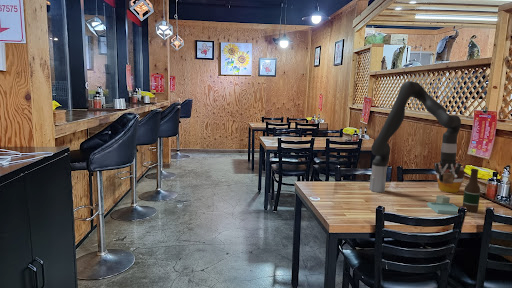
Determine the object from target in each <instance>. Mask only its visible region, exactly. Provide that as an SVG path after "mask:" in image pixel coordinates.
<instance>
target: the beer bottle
mask: <svg viewBox="0 0 512 288" xmlns="http://www.w3.org/2000/svg"><path fill="white" fill-rule="evenodd" d="M478 175H479V169H478V168H471V169H470V175H469V181H468V183H467V184H466V185H465V187H464V190H463V198H462V199H463V200H462V207H466V208H467V212H466V213H472V214H473V213H474V214H475V213H478V211H479V205H480V199H481V198H480V197H481V187H480V185H479V181H478V177H479V176H478ZM462 207H461V208H462Z"/></svg>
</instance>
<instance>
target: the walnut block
mask: <svg viewBox="0 0 512 288" xmlns="http://www.w3.org/2000/svg"><path fill="white" fill-rule="evenodd" d="M453 178H454V175H453V174H451V173H443V181H442V183H445V184H453ZM440 182H441V181H440Z"/></svg>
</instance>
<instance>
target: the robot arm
mask: <svg viewBox="0 0 512 288" xmlns="http://www.w3.org/2000/svg"><path fill="white" fill-rule="evenodd" d="M410 98H414V99H416V100H418V101H419V102H420V103H422V105H423V106H424V108H425V109H426V110H427V112H429V114H431V115H432V116H433V117H434V118H435V119H436V120H437V121H438V123H439V124H440V125H441V126H442V127H443V128H445V129H446V131H445V132H444V133H443V134H442V141H441V142H442V143H441V148H440V161H439V162H434V170H435V173H436V174H437V173H438V174H439V180H440V181H441V182H442V181H443V173H444V172H445V170H447V169H449V170H450V172H451V174H453V175H454V176H455V175H456V174H459V171H460V168H461V166H462V163H460V164H459V163H456V162H457V150H458V136H459V133H460V129H461V126H462V119H461V117H460V116H458V115H457V114H454V115H453V114H451V115H450V114H449V113H448V110H447V108H446V107H445V106H443V105H442V104H441V103H439V102H438V101H437V100H435V98H433V97H432V96H431V95H430V94H429V93H428V92H427V91H426V89H424V87H423V86H422V85H421V84H420V83H419V82H416V81H409V80H407V81H405V82H404V83H402V84H401V86H400V88H399V91H398V93H397V97H396V100H395V101H394V103H393V106H392V107H391V110H390V111H389V114H388V115H387V117H386V120H385V122H384V123H383V125H382V128H381V129H380V131H379V133H378V135H377V137H376V139H375V140H374V141H373V143H372V145H371V148H370V149H371V153H372V155H374V156H375V157H374V159H373V160H372V163H371V175H370V176H369V190H370V191H371V192H375V193H385V191H386V180H387V168H388V162H389V160H390V152H391V146H390V144H389V143H388V142H389V140H390V139H391V137H392V136H394V134H396V132H397V131H398V130H399V128H401V125H402V123H403V122H404V119H405V113H406V106H407V104H408V101H409V99H410ZM439 166H441V168H440V171H439ZM454 166H455V168H456V169H455V170H454ZM454 171H455V172H454ZM453 181H454V178H453Z"/></svg>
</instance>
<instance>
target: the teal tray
mask: <svg viewBox="0 0 512 288" xmlns="http://www.w3.org/2000/svg"><path fill="white" fill-rule="evenodd" d="M426 206H427V207H428V208H430V209H431V210H432V211H434V212H435V213H436V214H439V215H441V214H442V215H444V214H445V215H456V214H457V211H458V208H460V207H459V206H457V205H456V204H454V203H453V202H452V203H451V202H449V203H436V201H435V202H430V201H429V202H428V201H427V204H426Z"/></svg>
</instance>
